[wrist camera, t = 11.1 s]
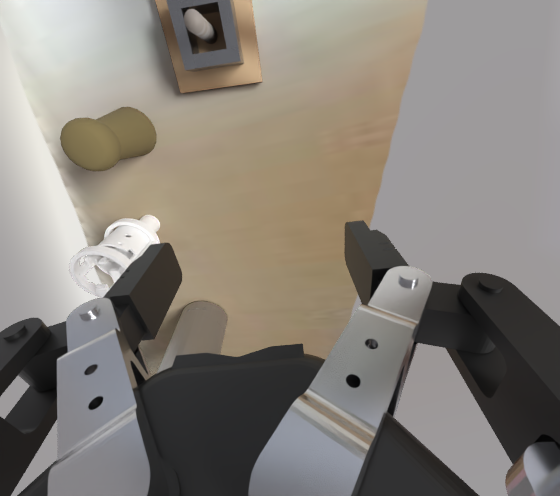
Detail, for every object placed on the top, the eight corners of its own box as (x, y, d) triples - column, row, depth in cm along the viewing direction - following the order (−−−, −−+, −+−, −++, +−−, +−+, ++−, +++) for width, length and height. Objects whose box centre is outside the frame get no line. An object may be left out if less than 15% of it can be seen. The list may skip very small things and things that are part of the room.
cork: (123, 159, 37) (72, 184, 27) (100, 112, 34) (32, 122, 24) (163, 150, 36) (125, 172, 27) (143, 101, 33) (91, 107, 24)
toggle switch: (262, 81, 32) (258, 80, 25) (183, 92, 33) (158, 94, 26) (247, -32, 27) (237, -74, 20) (154, -17, 27) (112, -53, 20)
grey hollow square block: (232, -7, 27) (227, -18, 24) (244, 63, 30) (240, 61, 27) (176, 3, 27) (164, -7, 24) (193, 71, 31) (185, 70, 28)
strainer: (136, 243, 44) (79, 306, 31) (120, 204, 40) (49, 258, 28) (177, 241, 44) (137, 304, 31) (165, 201, 40) (115, 255, 27)
